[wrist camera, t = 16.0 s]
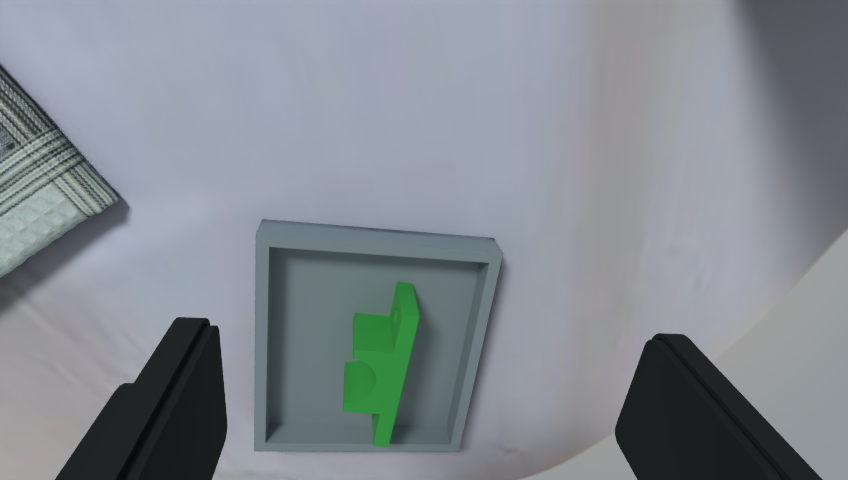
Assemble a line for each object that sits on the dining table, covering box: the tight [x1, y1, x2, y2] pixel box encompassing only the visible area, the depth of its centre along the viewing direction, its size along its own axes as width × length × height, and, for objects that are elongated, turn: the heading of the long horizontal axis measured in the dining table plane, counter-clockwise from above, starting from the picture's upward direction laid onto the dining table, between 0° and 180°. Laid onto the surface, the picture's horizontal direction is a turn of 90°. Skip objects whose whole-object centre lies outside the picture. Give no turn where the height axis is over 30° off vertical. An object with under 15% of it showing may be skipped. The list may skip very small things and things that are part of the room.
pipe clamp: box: [343, 281, 419, 447], centre depth 35 cm, size 11×4×5 cm, turn 168°
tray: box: [254, 219, 503, 452], centre depth 36 cm, size 16×18×2 cm
